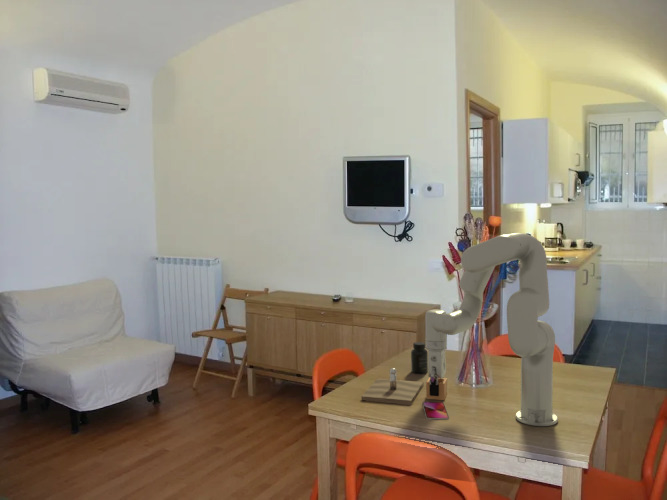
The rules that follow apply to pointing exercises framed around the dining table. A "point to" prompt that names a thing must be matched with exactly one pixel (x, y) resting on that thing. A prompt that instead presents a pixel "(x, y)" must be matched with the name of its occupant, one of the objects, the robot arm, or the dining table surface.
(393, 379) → the post
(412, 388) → the board
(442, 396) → the hollow wooden cube
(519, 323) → the robot arm
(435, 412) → the smartphone
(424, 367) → the supplement bottle
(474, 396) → the dining table surface
